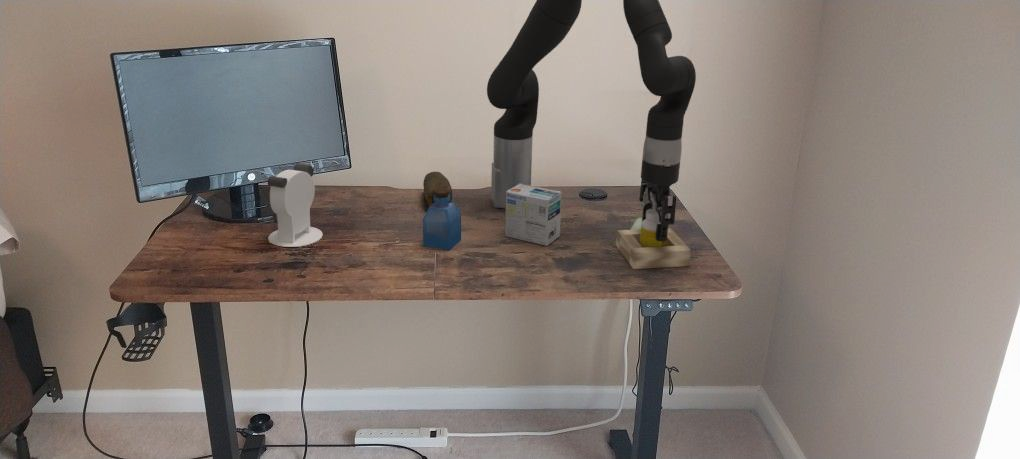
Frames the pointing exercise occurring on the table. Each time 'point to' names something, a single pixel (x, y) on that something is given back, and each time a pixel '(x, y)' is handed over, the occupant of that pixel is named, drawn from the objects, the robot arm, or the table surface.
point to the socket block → (652, 251)
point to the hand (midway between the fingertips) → (653, 232)
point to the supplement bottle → (650, 231)
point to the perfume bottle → (442, 222)
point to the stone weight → (435, 185)
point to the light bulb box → (533, 214)
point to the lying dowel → (637, 224)
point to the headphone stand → (293, 207)
